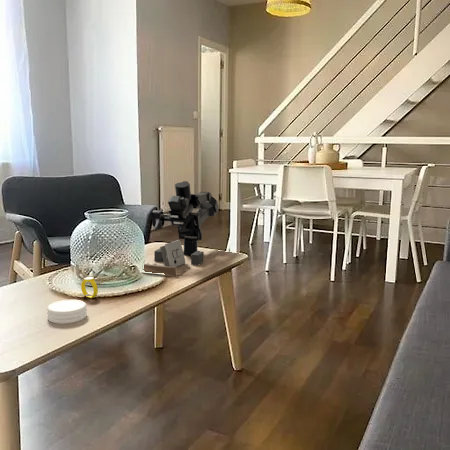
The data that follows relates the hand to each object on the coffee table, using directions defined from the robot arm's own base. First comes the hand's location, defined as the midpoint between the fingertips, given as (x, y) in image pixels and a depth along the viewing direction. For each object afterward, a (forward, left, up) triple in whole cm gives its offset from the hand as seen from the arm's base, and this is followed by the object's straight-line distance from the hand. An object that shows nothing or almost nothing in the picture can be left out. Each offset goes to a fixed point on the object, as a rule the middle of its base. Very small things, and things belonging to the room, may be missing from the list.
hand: (167, 230), depth 175 cm
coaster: (+52, -7, -15) cm, 55 cm away
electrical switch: (-5, 0, -15) cm, 16 cm away
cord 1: (-12, -8, -15) cm, 20 cm away
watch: (+36, -10, -15) cm, 40 cm away
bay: (+1, 0, -14) cm, 14 cm away
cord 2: (-12, +7, -15) cm, 20 cm away
